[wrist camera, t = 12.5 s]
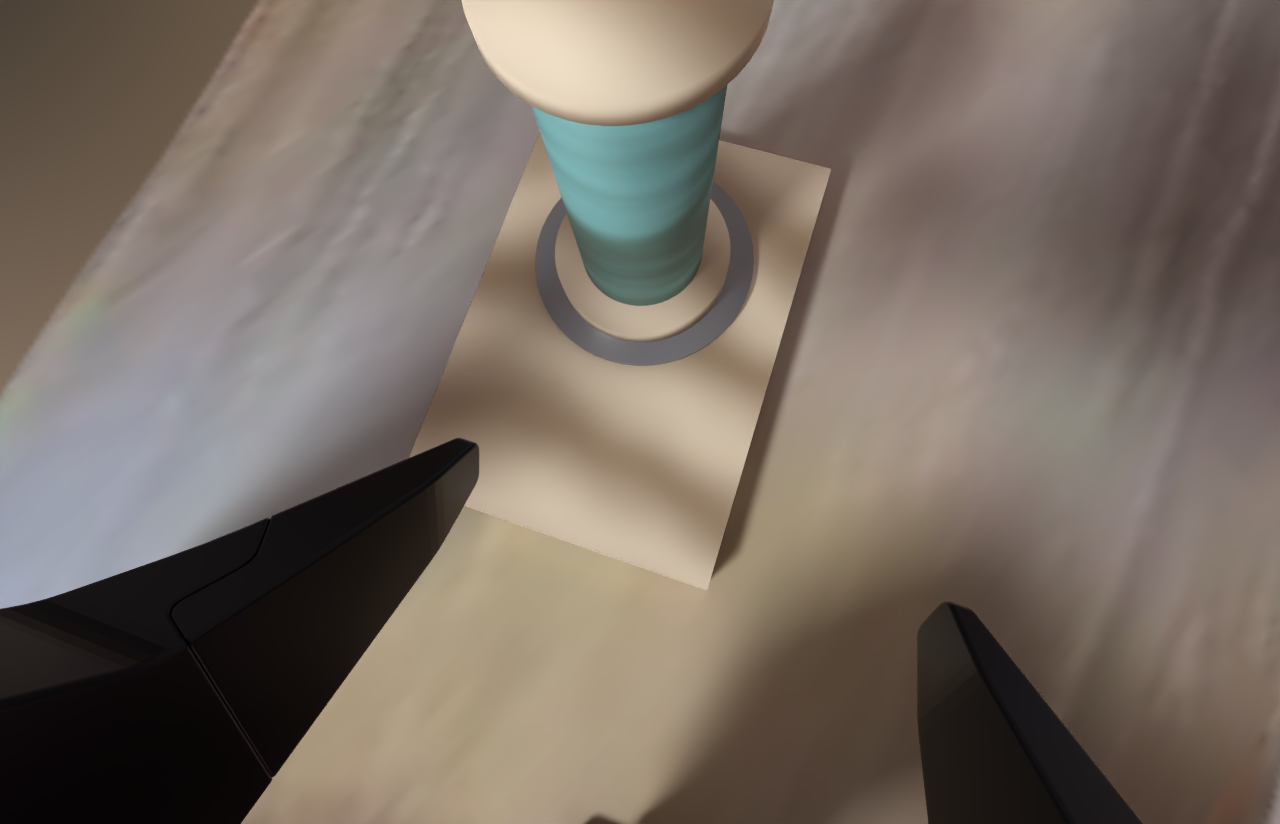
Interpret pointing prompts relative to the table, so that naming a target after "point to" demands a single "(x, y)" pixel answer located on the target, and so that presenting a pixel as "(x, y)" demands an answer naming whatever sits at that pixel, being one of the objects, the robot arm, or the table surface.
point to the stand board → (624, 378)
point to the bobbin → (629, 143)
